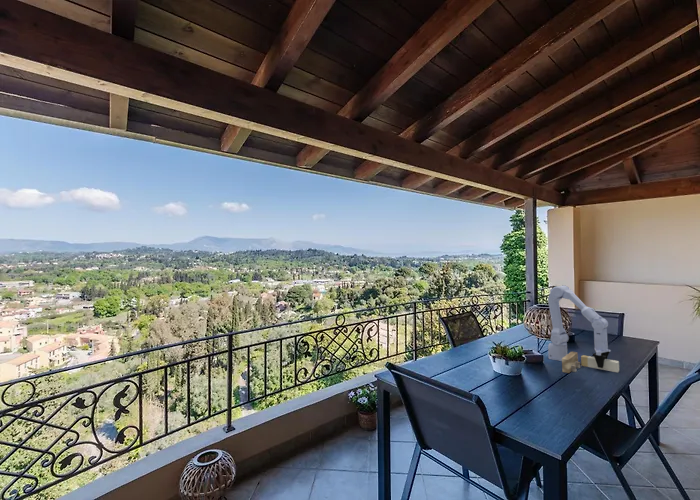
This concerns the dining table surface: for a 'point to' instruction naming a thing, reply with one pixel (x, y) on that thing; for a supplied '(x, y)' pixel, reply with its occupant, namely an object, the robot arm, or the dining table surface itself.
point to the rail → (591, 362)
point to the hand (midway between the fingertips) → (601, 365)
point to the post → (570, 362)
